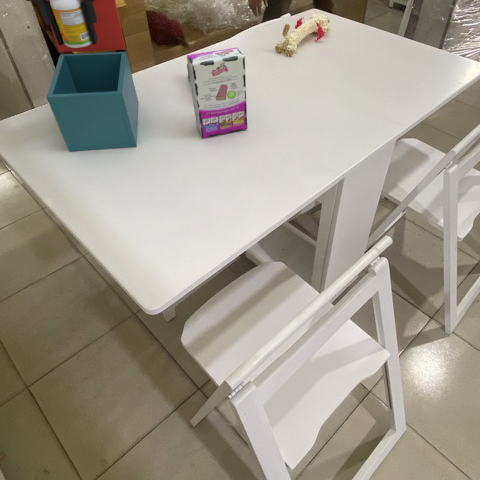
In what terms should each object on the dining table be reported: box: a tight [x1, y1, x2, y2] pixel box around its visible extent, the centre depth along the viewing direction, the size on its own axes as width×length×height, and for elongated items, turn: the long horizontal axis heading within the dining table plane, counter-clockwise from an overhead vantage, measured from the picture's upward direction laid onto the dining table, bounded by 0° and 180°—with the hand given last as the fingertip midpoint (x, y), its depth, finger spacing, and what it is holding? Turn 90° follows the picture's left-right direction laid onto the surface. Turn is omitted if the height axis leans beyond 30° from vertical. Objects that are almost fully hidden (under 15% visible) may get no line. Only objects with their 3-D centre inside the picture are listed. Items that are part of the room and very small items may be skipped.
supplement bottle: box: [50, 0, 92, 48], centre depth 74 cm, size 5×5×10 cm
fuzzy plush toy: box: [274, 12, 332, 58], centre depth 123 cm, size 10×9×25 cm
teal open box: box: [46, 51, 139, 152], centre depth 88 cm, size 19×14×12 cm
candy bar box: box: [186, 47, 248, 139], centre depth 87 cm, size 11×5×16 cm, turn 114°
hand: (78, 41), depth 77 cm, fingers closed on supplement bottle, 5 cm apart
